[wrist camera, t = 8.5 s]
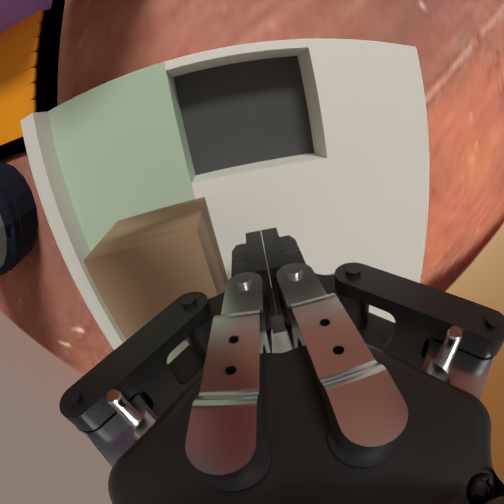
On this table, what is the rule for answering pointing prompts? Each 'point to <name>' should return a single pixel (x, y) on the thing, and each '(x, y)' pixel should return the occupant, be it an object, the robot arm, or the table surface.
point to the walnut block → (156, 262)
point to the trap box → (247, 156)
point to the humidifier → (15, 218)
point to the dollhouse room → (27, 65)
